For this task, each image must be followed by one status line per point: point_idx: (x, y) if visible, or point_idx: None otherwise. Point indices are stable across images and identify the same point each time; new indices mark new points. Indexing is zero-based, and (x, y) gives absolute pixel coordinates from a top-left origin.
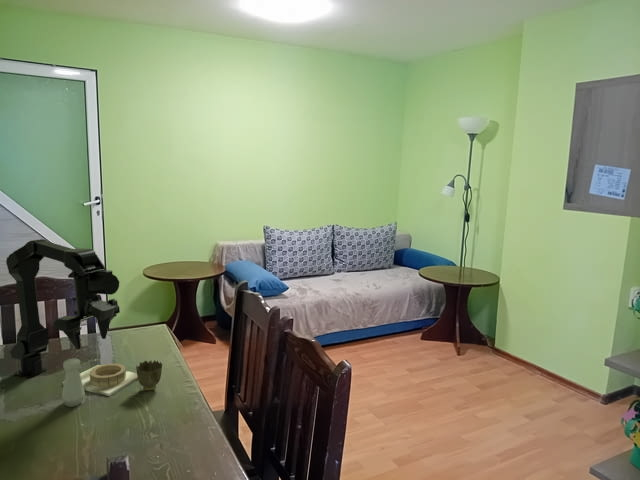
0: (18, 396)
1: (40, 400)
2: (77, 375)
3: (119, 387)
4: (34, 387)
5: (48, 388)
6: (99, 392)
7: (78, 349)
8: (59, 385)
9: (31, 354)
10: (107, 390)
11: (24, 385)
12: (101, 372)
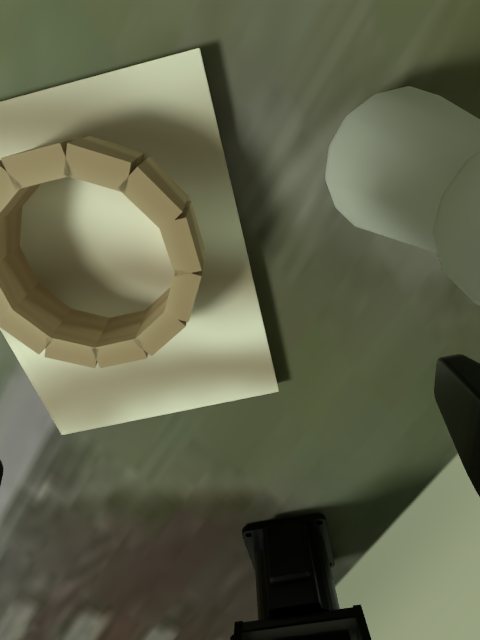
0: None
1: (431, 319)
2: (467, 134)
3: (100, 75)
4: (359, 439)
5: (335, 394)
6: (220, 140)
7: (454, 361)
8: (290, 387)
9: (312, 623)
10: (180, 105)
11: (368, 475)
12: (102, 327)
